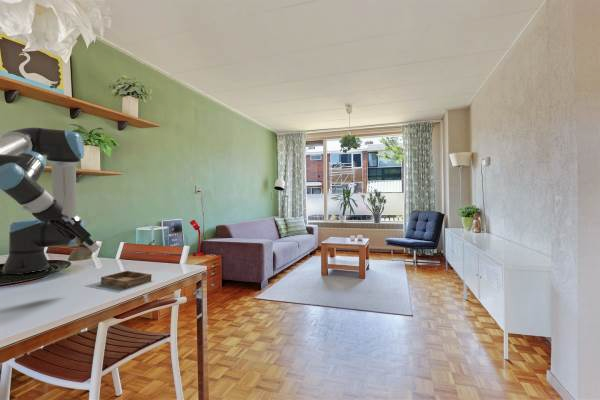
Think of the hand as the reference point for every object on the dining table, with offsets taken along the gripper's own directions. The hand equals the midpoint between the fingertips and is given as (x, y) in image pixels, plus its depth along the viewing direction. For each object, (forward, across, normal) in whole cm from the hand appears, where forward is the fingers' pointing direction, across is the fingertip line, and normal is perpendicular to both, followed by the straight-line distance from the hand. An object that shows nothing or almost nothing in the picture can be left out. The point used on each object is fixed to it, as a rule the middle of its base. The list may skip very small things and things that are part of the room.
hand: (92, 248), depth 110 cm
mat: (+16, +6, -5) cm, 18 cm away
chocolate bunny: (0, 0, -5) cm, 5 cm away
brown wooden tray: (+17, +6, -3) cm, 19 cm away
